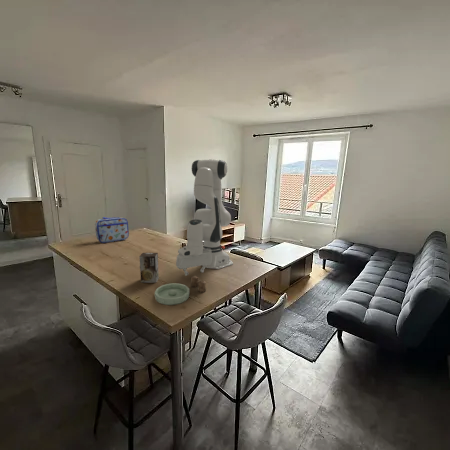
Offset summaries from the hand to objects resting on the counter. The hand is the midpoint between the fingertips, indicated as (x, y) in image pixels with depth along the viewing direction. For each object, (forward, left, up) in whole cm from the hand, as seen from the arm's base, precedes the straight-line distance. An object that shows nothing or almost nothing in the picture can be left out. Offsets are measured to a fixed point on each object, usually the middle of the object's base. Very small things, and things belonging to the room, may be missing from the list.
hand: (194, 273), depth 134 cm
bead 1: (-1, -1, -8) cm, 8 cm away
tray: (+14, +4, -8) cm, 17 cm away
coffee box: (+19, -20, -8) cm, 29 cm away
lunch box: (+26, -117, -8) cm, 120 cm away
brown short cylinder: (-2, +6, -8) cm, 10 cm away
